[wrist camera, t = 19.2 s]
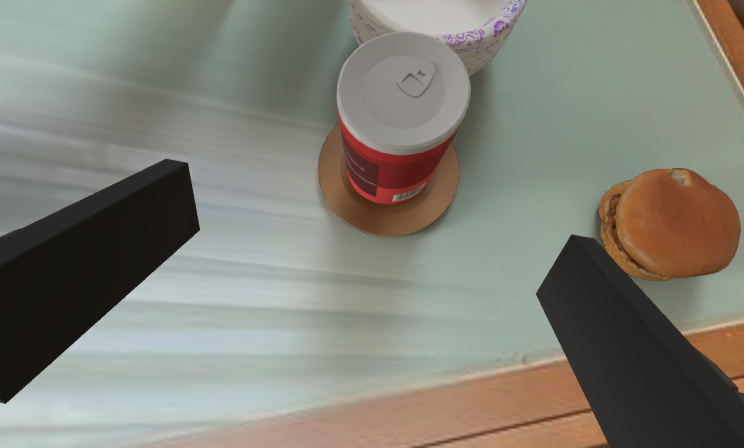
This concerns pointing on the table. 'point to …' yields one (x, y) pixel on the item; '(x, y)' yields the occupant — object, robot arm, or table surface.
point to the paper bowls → (441, 24)
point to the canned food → (399, 112)
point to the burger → (669, 225)
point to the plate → (384, 216)
